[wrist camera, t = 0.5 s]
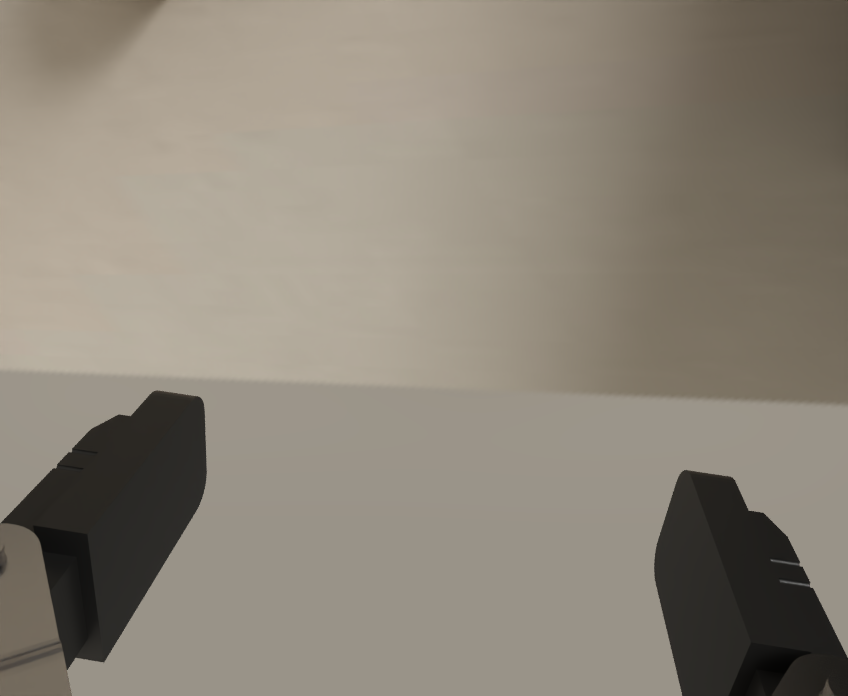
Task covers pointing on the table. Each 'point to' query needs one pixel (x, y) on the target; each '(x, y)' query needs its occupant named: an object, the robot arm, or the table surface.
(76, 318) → the table surface
